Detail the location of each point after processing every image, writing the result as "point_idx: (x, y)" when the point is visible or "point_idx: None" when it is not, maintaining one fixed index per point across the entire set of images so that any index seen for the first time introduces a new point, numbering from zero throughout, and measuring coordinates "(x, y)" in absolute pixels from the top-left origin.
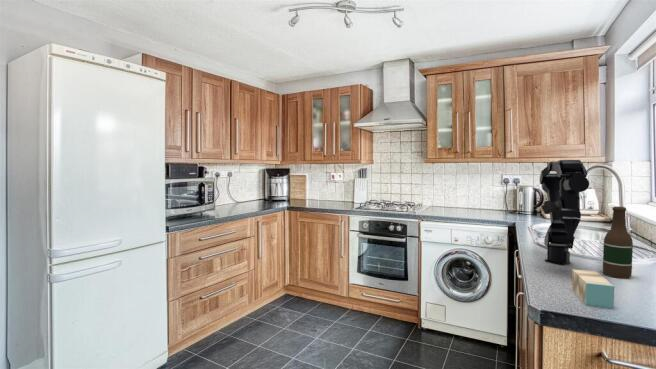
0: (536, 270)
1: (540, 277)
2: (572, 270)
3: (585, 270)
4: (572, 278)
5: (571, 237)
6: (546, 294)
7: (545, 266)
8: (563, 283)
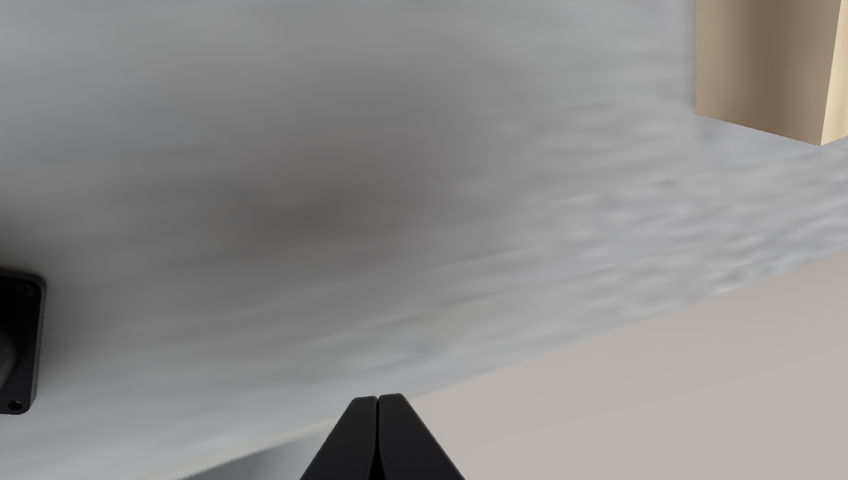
0: (403, 354)
1: (558, 294)
2: (813, 142)
3: (833, 49)
4: (760, 125)
5: (406, 413)
6: (837, 200)
7: (229, 350)
8: (620, 168)
